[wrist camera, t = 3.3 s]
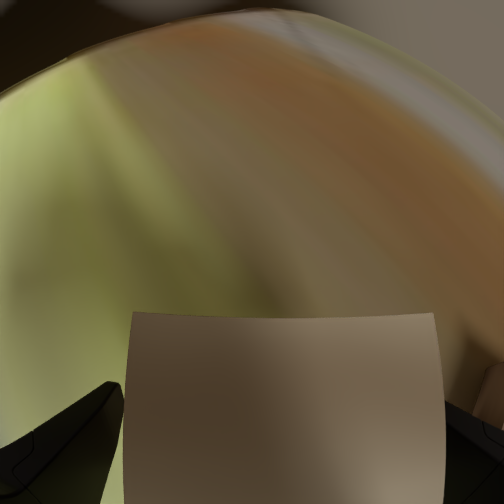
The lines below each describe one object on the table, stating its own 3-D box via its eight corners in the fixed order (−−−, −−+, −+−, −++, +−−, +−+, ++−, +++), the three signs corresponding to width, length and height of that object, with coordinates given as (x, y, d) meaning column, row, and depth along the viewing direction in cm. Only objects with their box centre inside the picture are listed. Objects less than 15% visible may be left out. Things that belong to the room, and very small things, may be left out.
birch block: (297, 470, 13) (433, 560, 2) (200, 471, 12) (136, 592, 2) (296, 383, 15) (432, 313, 5) (201, 382, 15) (133, 311, 4)
